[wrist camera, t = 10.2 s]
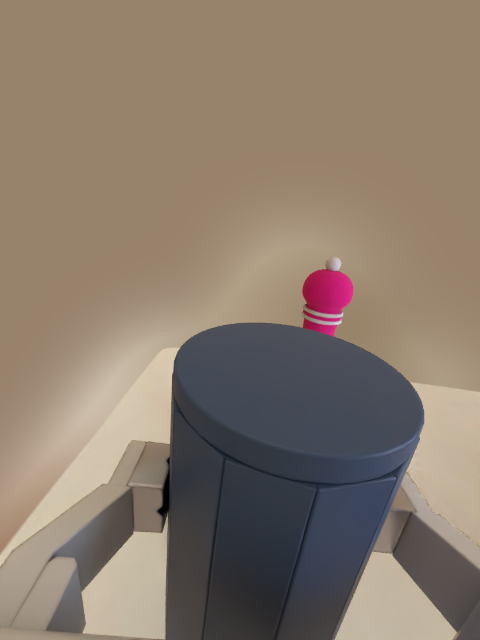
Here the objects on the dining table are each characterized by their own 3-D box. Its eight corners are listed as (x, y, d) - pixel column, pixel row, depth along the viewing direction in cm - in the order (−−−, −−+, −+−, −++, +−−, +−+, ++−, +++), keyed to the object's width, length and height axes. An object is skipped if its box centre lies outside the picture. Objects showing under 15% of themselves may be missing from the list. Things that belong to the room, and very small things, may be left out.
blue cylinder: (244, 494, 14) (274, 312, 11) (351, 605, 10) (449, 379, 7) (136, 587, 10) (128, 345, 7) (246, 827, 6) (356, 547, 3)
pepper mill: (336, 399, 39) (374, 261, 33) (315, 422, 34) (355, 263, 27) (293, 378, 43) (319, 252, 37) (268, 395, 38) (293, 252, 31)
